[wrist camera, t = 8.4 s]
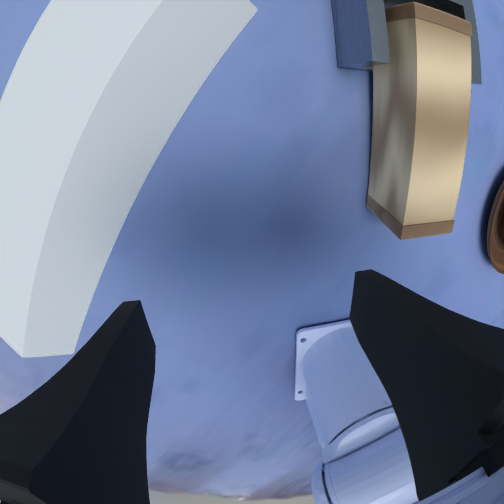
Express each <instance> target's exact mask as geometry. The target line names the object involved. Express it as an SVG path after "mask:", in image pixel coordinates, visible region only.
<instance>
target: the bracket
mask: <svg viewBox="0 0 504 504" xmlns="http://www.w3.org/2000/svg"><path fill="white" fill-rule="evenodd" d="M409 2H417V3H420V4H423V5H426V6H429V7H432V8H435V9H438V10H441V11H443V12H446V13H449V14H451V15H454V16H456V17H459V18H461V19H464V20H466V21H468V22H470V23H471V25H472V37H471V84H482V83H481V64H480V52H479V43H478V34H477V27H476V20H475V14H474V8H473V3H472V0H331V4H332V13H333V22H334V31H335V42H336V54H337V68H347V69H359V70H369V71H373V66H374V65H381V64H389V63H390V54H389V42H388V32H387V23H386V15H385V8H387V7H391V6H395V5H400V4H404V3H409Z"/></svg>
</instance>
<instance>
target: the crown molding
mask: <svg viewBox="0 0 504 504" xmlns="http://www.w3.org/2000/svg"><path fill="white" fill-rule="evenodd" d="M257 11H258V9H257V8H256V7H255V6H254V5H253V4H252V3H251V2H250V1H249V0H51V1H50V3H49V4H48V6H47V8H46V9H45V11H44V12H43V14H42V16H41V17H40V19H39V21H38V22H37V24H36V26H35V28H34V29H33V31H32V33H31V35H30V37H29V39H28V41H27V42H26V44H25V46H24V48H23V50H22V52H21V54H20V56H19V58H18V60H17V63H16V65H15V67H14V69H13V71H12V74H11V76H10V78H9V81H8V83H7V85H6V88H5V90H4V93H3V95H2V98H1V101H0V337H1V338H2V339H3V340H4V341H5V342H6V343H8V344H9V345H10V346H11V347H12V348H13V349H14V350H15V351H16V352H17V353H18V354H19V355H20V356H21V357H23V358H26V357H42V356H55V355H66V354H73V353H74V350H75V346H76V343H77V340H78V337H79V334H80V331H81V328H82V325H83V322H84V319H85V316H86V314H87V311H88V308H89V305H90V303H91V300H92V297H93V295H94V292H95V289H96V287H97V284H98V282H99V279H100V277H101V274H102V272H103V269H104V267H105V264H106V262H107V260H108V257H109V255H110V253H111V250H112V248H113V246H114V244H115V241H116V239H117V237H118V235H119V232H120V230H121V228H122V226H123V224H124V222H125V220H126V217H127V215H128V213H129V211H130V209H131V207H132V205H133V203H134V201H135V199H136V197H137V195H138V193H139V191H140V189H141V187H142V185H143V183H144V181H145V179H146V178H147V176H148V174H149V172H150V170H151V168H152V166H153V165H154V163H155V161H156V159H157V157H158V156H159V154H160V152H161V150H162V148H163V147H164V145H165V143H166V141H167V140H168V138H169V136H170V135H171V133H172V131H173V130H174V128H175V126H176V125H177V123H178V121H179V120H180V118H181V116H182V115H183V113H184V112H185V110H186V108H187V107H188V105H189V104H190V102H191V101H192V99H193V98H194V96H195V94H196V93H197V91H198V90H199V88H200V87H201V85H202V84H203V82H204V81H205V80H206V78H207V77H208V75H209V74H210V72H211V71H212V69H213V68H214V67H215V65H216V64H217V62H218V61H219V60H220V58H221V57H222V55H223V54H224V53H225V51H226V50H227V49H228V47H229V46H230V45H231V43H232V42H233V41H234V39H235V38H236V37H237V35H238V34H239V33H240V32H241V30H242V29H243V28H244V27H245V25H246V24H247V23H248V22H249V20H250V19H251V18H252V17H253V15H254V14H255V13H256V12H257Z"/></svg>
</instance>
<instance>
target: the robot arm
mask: <svg viewBox="0 0 504 504" xmlns="http://www.w3.org/2000/svg"><path fill="white" fill-rule="evenodd" d="M349 319H350V320H345V321H340V322H335V323H330V324H324V325H319V326H313V327H308V328H302V329H300V330H298V331H297V334H296V365H295V391H294V397H295V400H297V401H300V400H305V399H306V402H307V405H308V409H309V412H310V415H311V418H312V421H313V424H314V428H315V431H316V434H317V437H318V440H319V443H320V445H321V447H322V449H321V450H320V452H321V455H322V458H323V462H321V463H319V464H317V465H316V467H315V470H314V474H313V476H312V483H311V484H312V493H313V497H314V501H315V503H316V504H504V329H502V328H498V327H494V326H491V325H488V324H485V323H481V322H478V321H476V320H473V319H470V318H468V317H465V316H463V315H460V314H458V313H455V312H453V311H451V310H448V309H446V308H444V307H442V306H440V305H438V304H436V303H434V302H432V301H430V300H428V299H426V298H424V297H422V296H420V295H419V294H417V293H415V292H413V291H411V290H409V289H408V288H406V287H404V286H402V285H400V284H399V283H397V282H395V281H393V280H391V279H390V278H388V277H386V276H384V275H382V274H380V273H378V272H376V271H374V270H365V271H358V272H355V280H354V289H353V297H352V304H351V312H350V318H349ZM302 338H304V339H302ZM301 339H302V340H301ZM155 351H156V345H155V343H154V340H153V337H152V334H151V331H150V329H149V326H148V323H147V320H146V317H145V314H144V311H143V308H142V305H141V301H140V300H137V301H127V302H123V303H122V304H121V305H120V306H119V307H118V308H117V309H116V310H115V311H114V312H113V313H112V314H111V316H110V317H109V318H108V319H107V320H106V321H105V322H104V324H103V325H102V326H101V327H100V328H99V329H98V330H97V332H96V333H95V334H94V335H93V336H92V337H91V338H90V340H89V341H88V342H87V343H86V344H85V345H84V346H83V347H82V348H81V349H80V350H79V351H78V352H77V353H76V354H75V356H74V357H73V358H72V359H71V360H70V361H69V362H68V363H67V364H66V365H65V366H64V367H63V368H62V369H61V370H60V371H58V372H57V373H56V374H55V375H54V376H53V377H52V378H51V379H49V380H48V381H47V382H46V383H45V384H43V385H42V386H41V387H40V388H38V389H37V390H36V391H34V392H33V393H32V394H30V395H29V396H28V397H27V398H25V399H24V400H22V401H21V402H20V403H18V404H17V405H15V406H14V407H12V408H10V409H9V410H7V411H6V412H4V413H2V414H1V415H0V500H1V503H0V504H150V501H149V493H148V480H147V462H146V434H147V423H148V415H149V408H150V401H151V395H152V388H153V381H154V374H155Z"/></svg>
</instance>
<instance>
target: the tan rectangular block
mask: <svg viewBox="0 0 504 504" xmlns="http://www.w3.org/2000/svg"><path fill="white" fill-rule="evenodd" d="M385 15H386V23H387V32H388V42H389V54H390V63H389V64H381V65H374V66H373V124H372V146H371V162H370V176H369V187H368V194H367V201H366V206H367V208H369V209H370V210H371V211H372V212H373V213H374V214H375V215H376V216H377V217H378V218H379V219H380V220H381V221H382V222H383V223H384V224H385V225H386V226H387V227H388V228H389V229H390V230H391V231H392V232H393V233H394V234H395V235H396V236H397V237H398V238H399V239H400V240H403V239H410V238H417V237H425V236H432V235H439V234H446V233H450V232H452V229H453V225H454V220H453V218H454V214H455V209H456V205H457V200H458V195H459V190H460V185H461V179H462V173H463V167H464V160H465V153H466V146H467V137H468V127H469V116H470V101H471V37H472V25H471V23H470V22H468V21H466V20H464V19H461V18H459V17H456V16H454V15H451V14H449V13H446V12H443V11H441V10H438V9H435V8H432V7H429V6H426V5H423V4H420V3H417V2H409V3H404V4H400V5H395V6H391V7H387V8H385Z"/></svg>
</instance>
